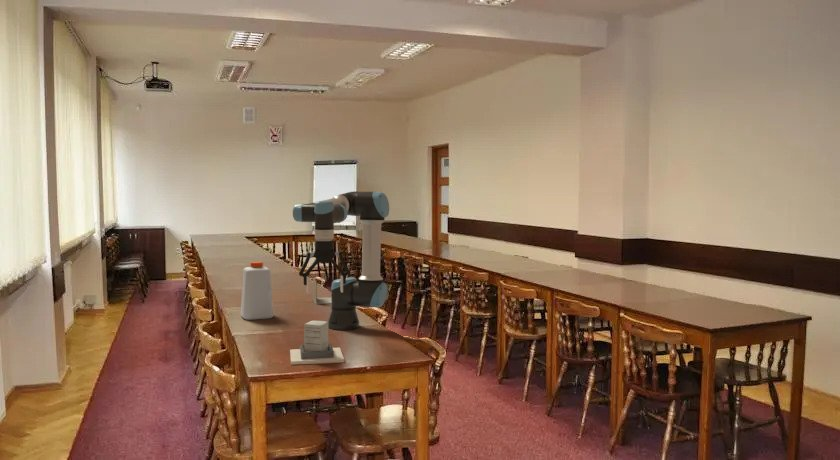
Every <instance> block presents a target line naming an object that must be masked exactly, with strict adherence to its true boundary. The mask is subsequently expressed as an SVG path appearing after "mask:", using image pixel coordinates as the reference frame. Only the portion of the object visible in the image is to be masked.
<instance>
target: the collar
mask: <svg viewBox="0 0 840 460" xmlns="http://www.w3.org/2000/svg"><path fill="white" fill-rule="evenodd" d="M333 348H334V347H333V346H332V343H328V351H311V352H304V344H299V349H300V355H301V359H316V358H334V351H333Z"/></svg>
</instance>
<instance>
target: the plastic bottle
mask: <svg viewBox="0 0 840 460" xmlns="http://www.w3.org/2000/svg"><path fill="white" fill-rule="evenodd" d="M242 271H243V273H242V283H241V284H242V287H241V288H242V289H241V301H240V316H241V317H242V318H243V319H244V320H245V321H246V320H247V321H249V320H250V321H256V320H257V321H258V320H268V319H272V318H273V316H274V306H273V305H274V304H273V292H272V290H273V289H272V278H271V277H272V276H271V275H272V274H271V269H270V268H268V267H267V266H264V263H263V262H262V261H251V263H250V266H248V267H247V266H245V267H244V268H243V270H242Z"/></svg>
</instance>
